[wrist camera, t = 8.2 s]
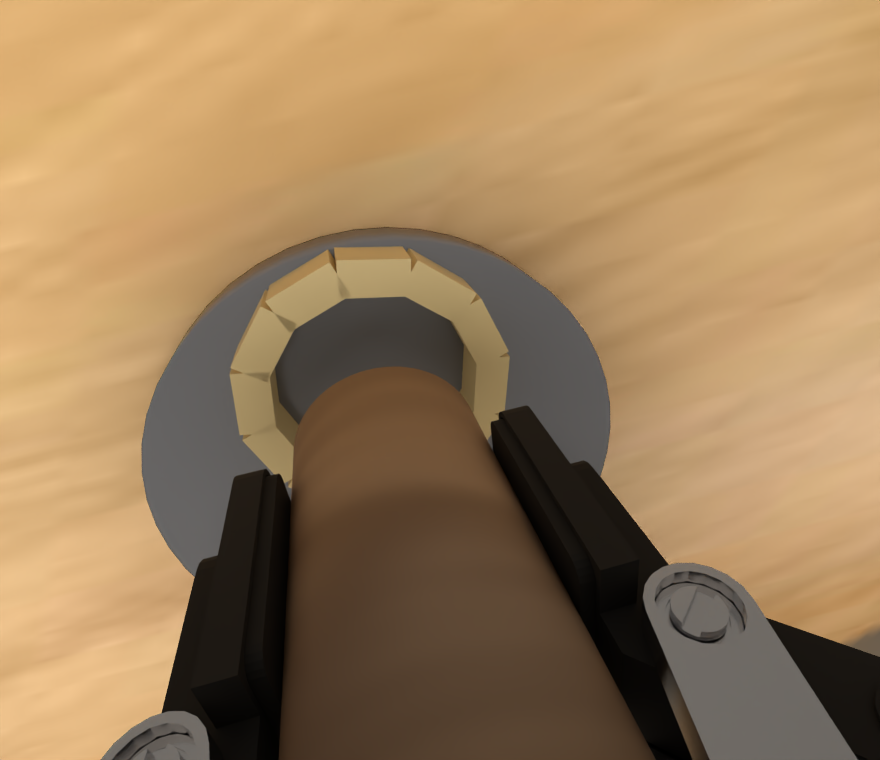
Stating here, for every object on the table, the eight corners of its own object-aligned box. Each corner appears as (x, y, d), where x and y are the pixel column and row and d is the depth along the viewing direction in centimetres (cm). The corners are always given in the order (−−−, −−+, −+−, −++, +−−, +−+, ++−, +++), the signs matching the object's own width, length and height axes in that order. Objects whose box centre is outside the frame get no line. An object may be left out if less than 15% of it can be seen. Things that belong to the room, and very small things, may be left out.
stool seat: (453, 627, 25) (526, 894, 17) (92, 537, 19) (-96, 892, 10) (662, 355, 21) (912, 525, 12) (279, 120, 15) (227, 123, 6)
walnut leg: (419, 538, 13) (547, 1043, 6) (262, 489, 11) (184, 1108, 4) (510, 410, 12) (801, 853, 5) (348, 335, 10) (433, 843, 3)
